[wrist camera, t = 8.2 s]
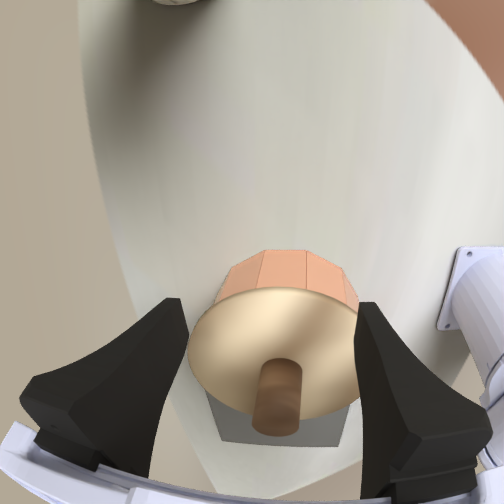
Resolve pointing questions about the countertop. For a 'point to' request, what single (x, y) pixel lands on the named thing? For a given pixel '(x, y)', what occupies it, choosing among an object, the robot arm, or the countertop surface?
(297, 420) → the lid
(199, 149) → the countertop surface
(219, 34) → the countertop surface
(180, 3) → the spray can
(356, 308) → the bowl
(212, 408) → the mat
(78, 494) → the robot arm
